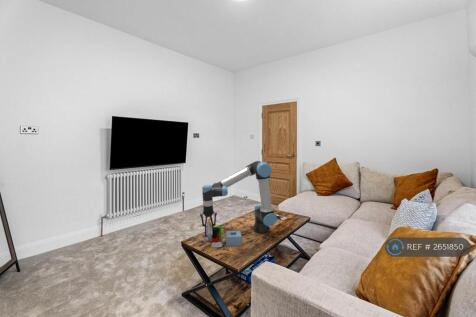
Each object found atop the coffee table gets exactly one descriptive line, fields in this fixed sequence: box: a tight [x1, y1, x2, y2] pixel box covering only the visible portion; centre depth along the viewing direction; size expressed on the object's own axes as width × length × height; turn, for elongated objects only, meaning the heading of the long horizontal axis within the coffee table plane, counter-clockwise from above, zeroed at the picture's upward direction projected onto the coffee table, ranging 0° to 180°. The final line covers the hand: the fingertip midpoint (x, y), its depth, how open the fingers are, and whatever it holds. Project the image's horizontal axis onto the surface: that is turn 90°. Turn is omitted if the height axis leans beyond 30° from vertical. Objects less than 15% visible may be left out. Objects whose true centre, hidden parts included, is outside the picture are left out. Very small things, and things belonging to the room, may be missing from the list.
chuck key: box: [206, 218, 212, 242], centre depth 173 cm, size 3×8×16 cm, turn 5°
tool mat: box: [211, 241, 223, 249], centre depth 175 cm, size 8×8×1 cm
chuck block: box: [221, 229, 243, 247], centre depth 178 cm, size 16×12×8 cm
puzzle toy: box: [204, 224, 223, 243], centre depth 185 cm, size 10×10×10 cm
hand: (209, 234), depth 173 cm, fingers closed on chuck key, 3 cm apart
